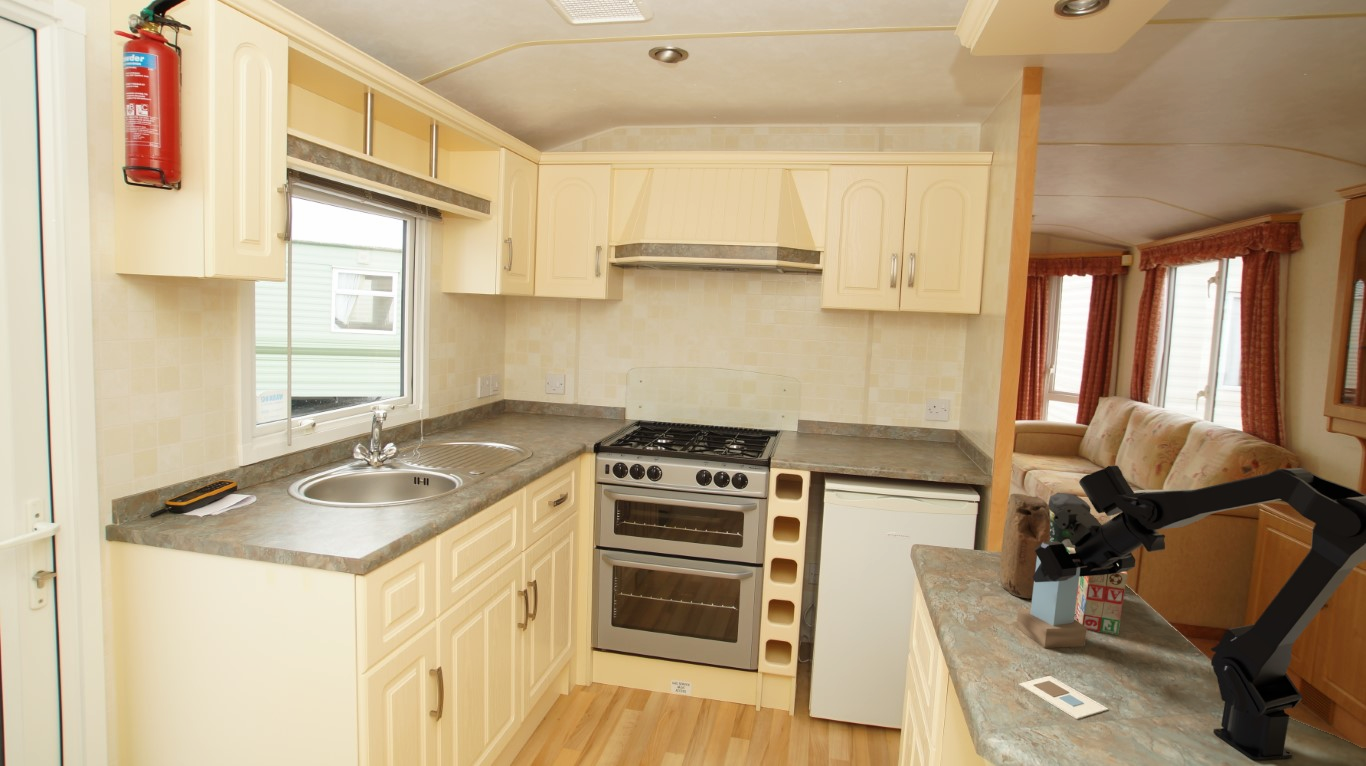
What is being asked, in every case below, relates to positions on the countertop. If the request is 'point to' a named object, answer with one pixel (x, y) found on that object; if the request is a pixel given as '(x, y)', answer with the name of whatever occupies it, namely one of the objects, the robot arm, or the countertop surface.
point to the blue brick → (1055, 599)
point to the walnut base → (1051, 631)
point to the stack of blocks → (1100, 600)
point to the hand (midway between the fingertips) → (1053, 577)
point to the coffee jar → (1054, 505)
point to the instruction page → (1063, 697)
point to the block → (1023, 542)
